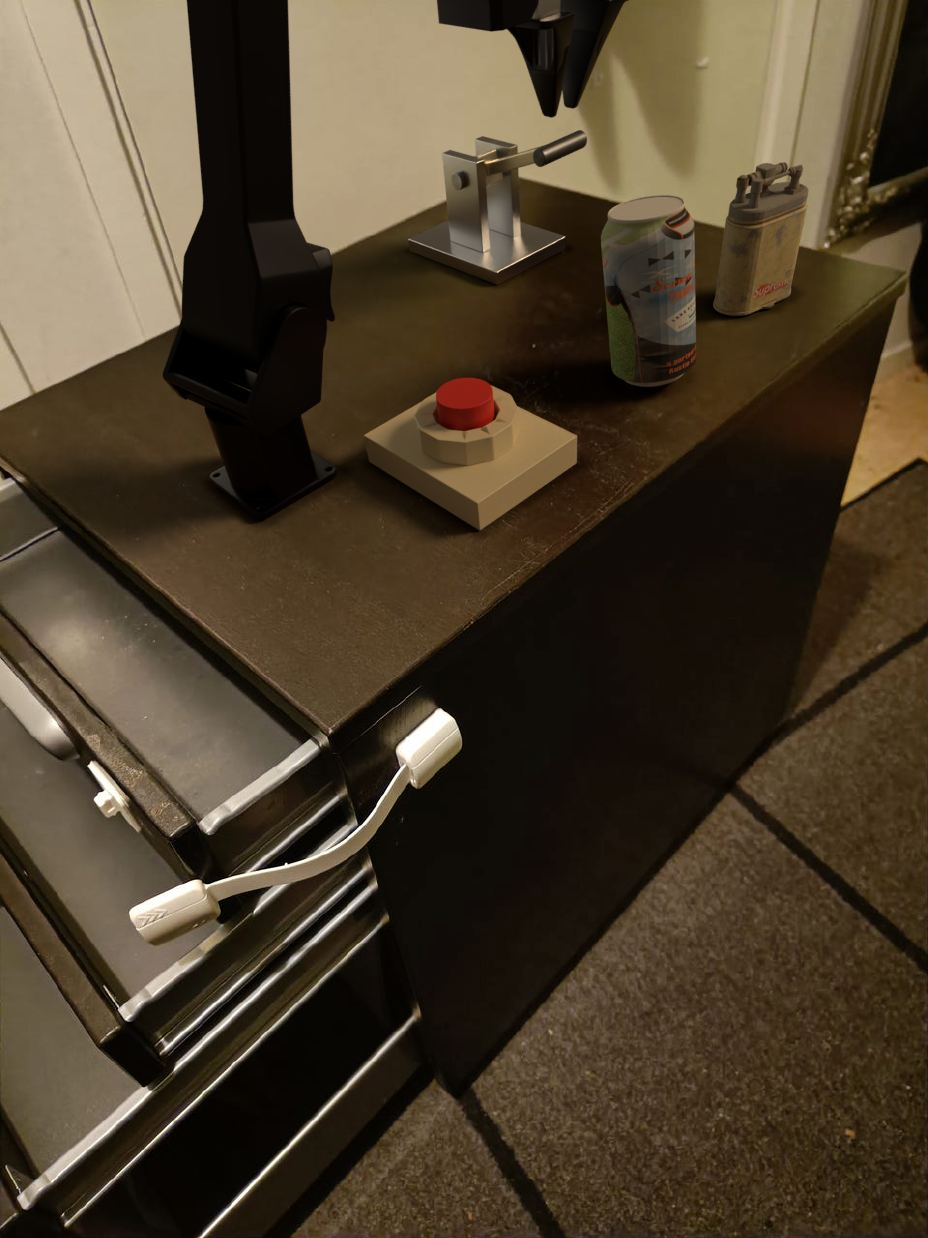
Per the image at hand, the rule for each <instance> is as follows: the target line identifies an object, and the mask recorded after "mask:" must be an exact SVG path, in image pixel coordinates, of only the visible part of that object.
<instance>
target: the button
mask: <svg viewBox="0 0 928 1238" xmlns="http://www.w3.org/2000/svg"><path fill="white" fill-rule="evenodd" d="M491 386H492V385H491V384H490V383H489V382H487V381H485V380H483V379H481V378H476V377H460V378H454V379H452V380H449V381H447V382H445V383H443V384H441V386H440V387H439V388H438V389H437V390H436V392H435V393H436V402H437V410H438V418H439V422H440V424H441V425H442V426H443V427H445V428H446V429H448V430H456V431H468V430H473V429H478V428H482V427H484V426H486V425H487V424H489V423H491V422H492V420H493V418H494V401H493V389H492V387H491Z"/></svg>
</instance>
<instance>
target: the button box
mask: <svg viewBox="0 0 928 1238" xmlns="http://www.w3.org/2000/svg"><path fill="white" fill-rule="evenodd" d="M490 386H491V387H492V389H493V401H494V418H493V420H492V422H491V423H489V424H487V425H486V426H484V427H482V428H478V429H473V430H468V431H456V430H448V429H446V428H445V427H443V426H442V425H441V424H440V422H439V418H438V410H437V402H436V392H434V393H433V394H431V395H429V396H427V397H426V398H424V399H423V400H422V401H420V402H418V403H416V404H415V405H412V407H410V408H408V409H406V410H405V411H403V412H401V413H400V414H397V415H396V416H395V417H393V418H391V419H389V420H388V421H386V422H384V423H383V424H380V425H379V426H377V427H376V428H373V429H372V430H370V431H368V432H367V433H365V434H364V435H363V439H364V444H365V448H366V453H367V459H368V462H369V463H370V464H372V465H373V466H375V467H376V468H379V469H380V470H382V471H383V472H385V473H386V474H387V475H390V476H391V477H393V478H395V479H396V480H398V481H399V482H401V483H403V484H404V485H405V486H407V487H409V488H411V489H412V490H414V491H415V492H417V493H418V494H420V495H422V496H423V497H425V498H427V499H428V500H430V501H431V502H433V503H434V504H436V505H438V506H439V507H441V508H443V509H444V510H445V511H447V512H448V513H451V514H452V515H454V516H455V517H457V518H458V519H460V520H462V521H463V522H465V523H466V524H469V525H470V526H471V527H473V528H474V529H476V530H478V531H482V530H484V529H485V528H486V527H487V526H489V525H491V524H492V523H493V522H495V521H497V520H498V519H499V518H500V517H502V516H504V515H505V514H506V513H508V512H509V511H511V510H512V509H513V508H515V507H516V506H518V505H520V503H522V502H523V501H525V500H526V499H528V498H529V497H531V496H532V495H533V494H535V493H536V492H538V490H540V489H542V488H543V487H545V486H546V485H548V484H549V483H550V482H552V481H553V480H555V479H556V478H558V477H559V476H561V475H562V474H563V473H565V472H566V471H568V470H570V469H571V468H572V467H574V466H575V465H576V464H578V435H577V434H575V433H572V432H570V431H568V430H566V429H564V428H563V427H561V426H558V425H556V424H554V423H552V422H550V421H548V420H547V419H544V418H542V417H540V416H538V415H536V414H534V413H532V412H530V411H528V410H526V409H524V408H522V407H519V406H517V404H516V402H515V400H514V398H513V396H512V395H511V394H510V393H508V392H506V391H504V390H502V389H500V388H497V386H496V387H495V386H494V385H490Z"/></svg>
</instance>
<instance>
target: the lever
mask: <svg viewBox="0 0 928 1238" xmlns="http://www.w3.org/2000/svg"><path fill="white" fill-rule="evenodd" d="M587 143H588V137H587V135H586V133H585V131H584V130H582V129H578V130H576V131H574V132H571V133H569V134H566V135H564V136H562V137H560V138H558V139H556V140H555V139H554V141H551V142H549V143H547V144H544V145H540V146H537V147H534V148H530V149H527V150H524V151H523V150H522V151H520V152H518V153H516V154H513V155H509V156H506V157H503V158H499V159H498V156H497V152H496V150H492V151H489V152H486V153H483V154H480V155H476V154H475V155H473V156H474V157H478V158H481V159H484V160H485V174H486V187H487V186H489V185H491V184H494V183H496V182H498V181H500V180H502V179H504V178H503V174H502V172H505V171H509V170H513V169H516V168H518V169H521V168H524V167H527V166H530V165H535V166H537V167H538V168H542V167H545V166H547V165H549V164H552V163H553V162H556V161H558V160H561V159H562V158H565V157H567V156H569V155H571V154H573V153H575V152H577V151H580V150H582V149H584V148H585V147H587Z"/></svg>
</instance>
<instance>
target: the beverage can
mask: <svg viewBox="0 0 928 1238" xmlns="http://www.w3.org/2000/svg"><path fill="white" fill-rule="evenodd" d="M695 242H696V241H695V221H694V218H693V216H692V215H691V213H689V211H688V209H687V208H686V202H685V200H684V198H682V197H680V196H677V195H670V194H669V195H668V194H662V195H661V194H660V195H658V194H657V195H649V196H641V197H637V198H632V199H630V200H627V201H624V202H621V203H619V204H617V205H615V206H613V207H611V208H610V209H609V210H608V212H607V221H606V223H605V225H604V227H603V229H602V231H601V235H600V246H601V259H602V267H603V268H602V270H603V271H602V272H603V281H604V284H603V285H604V293H605V295H604V296H605V307H606V319H607V330H608V343H609V353H610V354H609V355H610V366H611V372H612V374H613V375H614V376H616V377H617V378H619V379H621V380H623V381H625V382H626V383H627V384H630V385H632V386H637V387H642V388H643V387H646V388H647V387H651V388H652V387H658V386H664V385H667V384H671V383H674V382H675V381H677V380H678V379H680V378H681V377H683V376H684V375H685V373H688V371H690V370H691V369H692V368H693V367H694V366H695V364H696V362H697V322H696V321H697V320H696V318H697V314H696V313H697V312H696V254H695V253H696V251H695V249H696V248H695V247H696V246H695V244H696V243H695Z"/></svg>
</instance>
